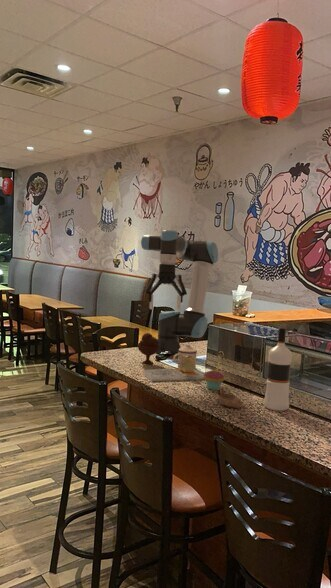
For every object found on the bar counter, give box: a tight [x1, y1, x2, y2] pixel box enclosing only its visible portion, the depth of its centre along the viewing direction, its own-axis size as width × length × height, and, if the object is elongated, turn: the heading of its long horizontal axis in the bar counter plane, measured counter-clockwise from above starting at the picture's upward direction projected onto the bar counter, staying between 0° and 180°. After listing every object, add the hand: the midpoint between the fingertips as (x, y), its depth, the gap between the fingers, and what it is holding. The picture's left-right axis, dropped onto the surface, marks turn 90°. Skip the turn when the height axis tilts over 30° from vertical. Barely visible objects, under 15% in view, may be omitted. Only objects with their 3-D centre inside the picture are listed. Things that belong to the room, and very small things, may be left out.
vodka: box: [263, 327, 293, 412], centre depth 172 cm, size 9×9×30 cm
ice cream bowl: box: [137, 332, 160, 366], centre depth 230 cm, size 11×11×15 cm
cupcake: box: [203, 359, 225, 390], centre depth 194 cm, size 9×8×12 cm
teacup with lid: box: [172, 343, 198, 369], centre depth 225 cm, size 12×9×12 cm
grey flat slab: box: [142, 367, 205, 382], centre depth 208 cm, size 12×25×2 cm, turn 110°
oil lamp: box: [216, 387, 243, 409], centre depth 173 cm, size 13×8×5 cm, turn 28°
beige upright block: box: [181, 355, 195, 374], centre depth 210 cm, size 4×4×9 cm
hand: (164, 309), depth 218 cm, fingers open, 13 cm apart
